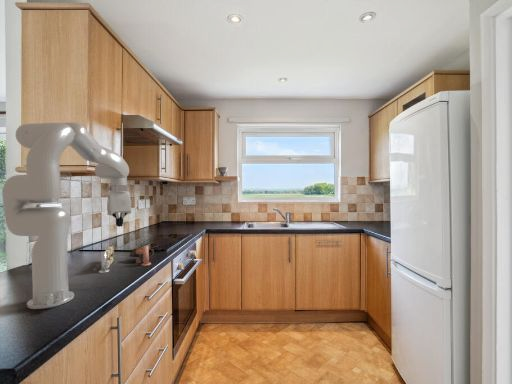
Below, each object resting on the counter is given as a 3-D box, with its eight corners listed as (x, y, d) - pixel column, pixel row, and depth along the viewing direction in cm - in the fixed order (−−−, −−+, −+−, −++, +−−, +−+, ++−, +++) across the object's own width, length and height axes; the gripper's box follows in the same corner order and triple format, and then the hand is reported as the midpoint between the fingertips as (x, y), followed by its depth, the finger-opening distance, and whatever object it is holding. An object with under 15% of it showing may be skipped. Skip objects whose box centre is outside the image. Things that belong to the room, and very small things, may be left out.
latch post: (152, 264, 134) (152, 246, 134) (143, 266, 131) (142, 247, 131) (148, 262, 137) (148, 245, 137) (139, 264, 134) (139, 246, 134)
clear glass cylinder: (111, 271, 123) (110, 251, 123) (100, 273, 120) (99, 253, 120) (108, 269, 127) (107, 250, 127) (97, 271, 124) (97, 251, 123)
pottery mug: (130, 265, 134) (126, 250, 137) (134, 269, 143) (130, 254, 145) (155, 257, 138) (151, 242, 141) (157, 261, 147) (153, 246, 149)
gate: (106, 269, 125) (106, 253, 125) (103, 270, 125) (102, 253, 125) (114, 260, 142) (113, 245, 142) (110, 260, 142) (110, 245, 142)
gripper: (104, 189, 126) (105, 228, 127) (137, 189, 137) (137, 225, 137) (99, 189, 132) (100, 227, 132) (131, 189, 142) (132, 224, 142)
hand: (119, 226), depth 135 cm, fingers closed
